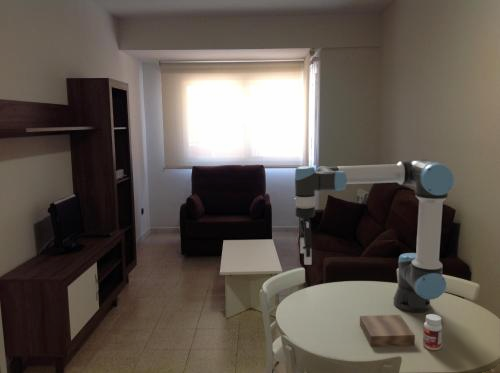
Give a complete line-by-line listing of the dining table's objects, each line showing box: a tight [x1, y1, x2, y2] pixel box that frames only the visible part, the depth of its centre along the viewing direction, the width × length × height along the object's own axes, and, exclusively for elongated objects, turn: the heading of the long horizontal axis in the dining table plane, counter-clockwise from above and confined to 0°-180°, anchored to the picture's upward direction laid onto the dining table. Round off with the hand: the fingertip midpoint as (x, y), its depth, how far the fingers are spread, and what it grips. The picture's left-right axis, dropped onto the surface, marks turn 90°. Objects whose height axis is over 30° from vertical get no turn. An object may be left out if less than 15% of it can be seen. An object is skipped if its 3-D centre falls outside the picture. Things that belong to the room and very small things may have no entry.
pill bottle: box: [422, 313, 443, 351], centre depth 159 cm, size 6×6×11 cm
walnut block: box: [359, 314, 416, 347], centre depth 168 cm, size 16×16×4 cm
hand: (305, 258), depth 175 cm, fingers open, 13 cm apart
